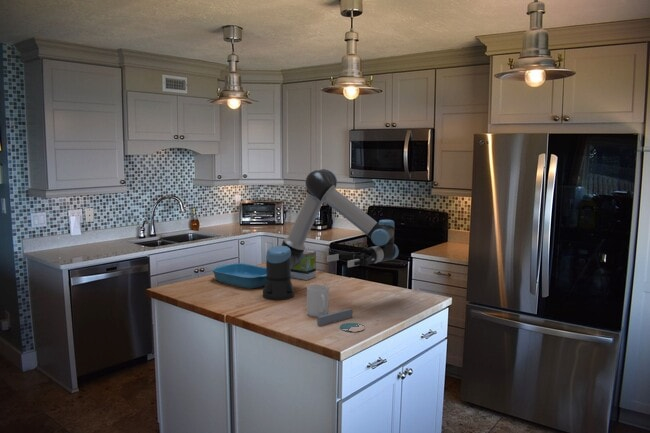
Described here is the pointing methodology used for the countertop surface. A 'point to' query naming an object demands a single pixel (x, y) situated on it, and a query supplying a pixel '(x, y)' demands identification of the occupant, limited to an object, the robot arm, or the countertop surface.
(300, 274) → the tea box
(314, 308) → the mug
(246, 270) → the casserole dish
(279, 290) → the robot arm
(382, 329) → the countertop surface
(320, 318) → the wall
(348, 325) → the pad
